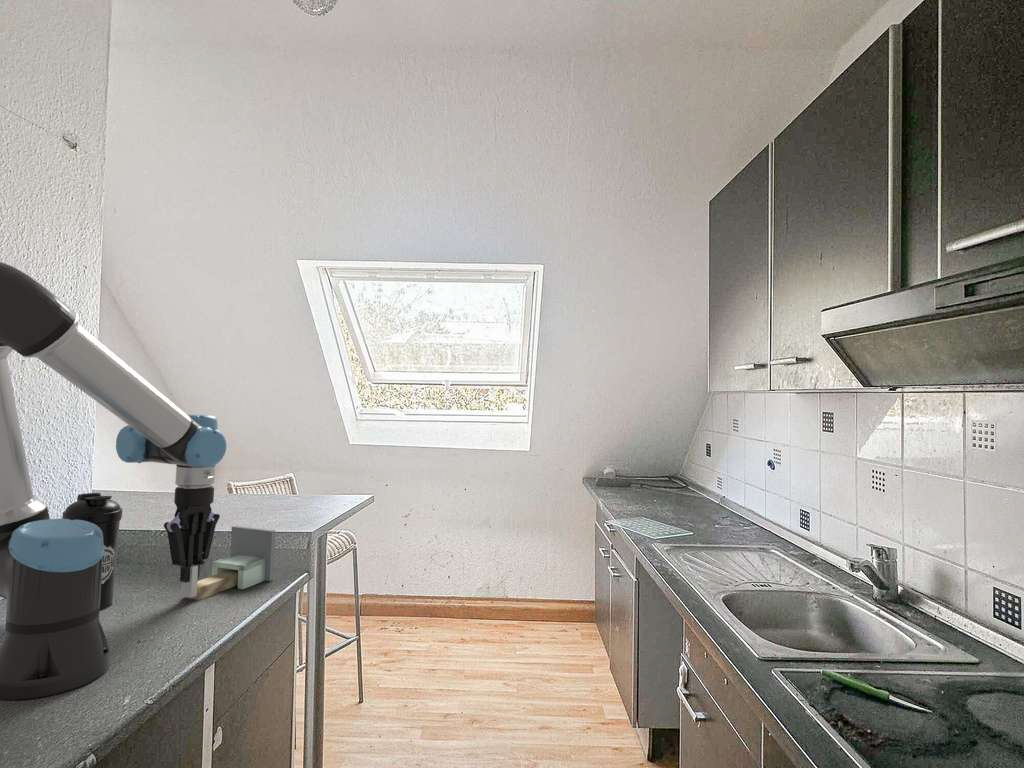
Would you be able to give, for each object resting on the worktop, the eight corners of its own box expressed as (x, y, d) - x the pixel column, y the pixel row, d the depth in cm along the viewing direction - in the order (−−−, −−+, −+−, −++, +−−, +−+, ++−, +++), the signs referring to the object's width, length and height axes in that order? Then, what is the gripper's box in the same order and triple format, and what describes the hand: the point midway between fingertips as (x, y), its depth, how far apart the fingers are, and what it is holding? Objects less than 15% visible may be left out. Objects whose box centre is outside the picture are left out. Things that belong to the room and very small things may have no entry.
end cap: (248, 590, 135) (250, 537, 136) (206, 583, 139) (208, 532, 139) (273, 580, 143) (275, 530, 144) (232, 574, 147) (235, 525, 147)
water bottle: (66, 619, 114) (73, 500, 115) (49, 606, 121) (56, 494, 121) (125, 606, 123) (131, 495, 123) (106, 595, 129) (112, 489, 130)
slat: (199, 601, 128) (200, 587, 128) (184, 599, 129) (185, 585, 129) (245, 583, 141) (246, 570, 141) (232, 581, 142) (232, 568, 142)
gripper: (184, 490, 120) (177, 607, 119) (231, 483, 133) (225, 589, 132) (155, 488, 122) (148, 602, 121) (204, 481, 135) (199, 585, 134)
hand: (188, 595), depth 127 cm, fingers closed
